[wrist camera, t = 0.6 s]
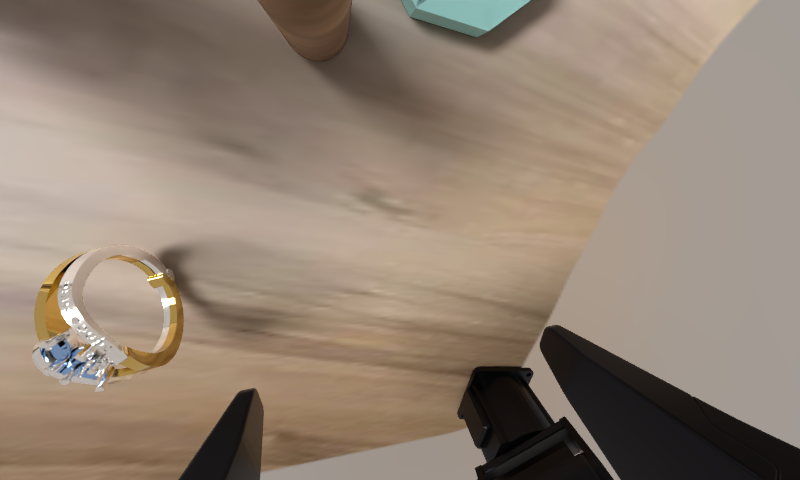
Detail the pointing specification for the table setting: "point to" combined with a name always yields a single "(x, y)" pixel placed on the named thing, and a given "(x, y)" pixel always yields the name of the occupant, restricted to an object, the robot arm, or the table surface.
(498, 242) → the table surface
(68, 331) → the ring
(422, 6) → the teal faceted ring
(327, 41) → the brown peg
